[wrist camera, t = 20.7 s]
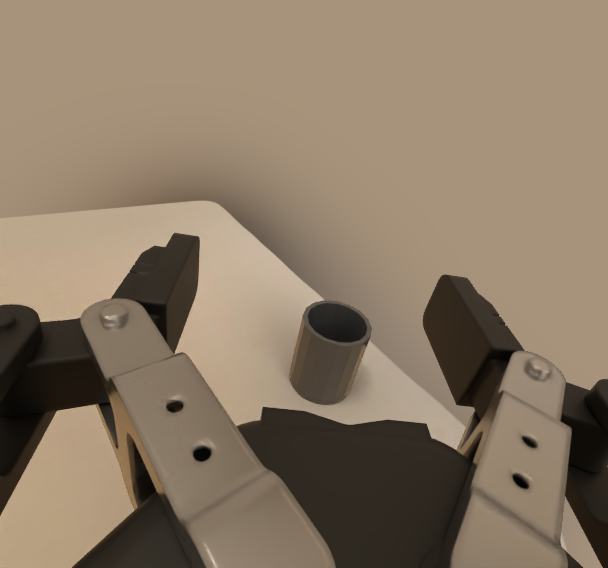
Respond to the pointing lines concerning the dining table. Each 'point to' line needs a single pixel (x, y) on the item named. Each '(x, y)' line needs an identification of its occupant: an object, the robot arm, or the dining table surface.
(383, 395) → the dining table surface
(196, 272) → the robot arm
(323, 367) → the holder
